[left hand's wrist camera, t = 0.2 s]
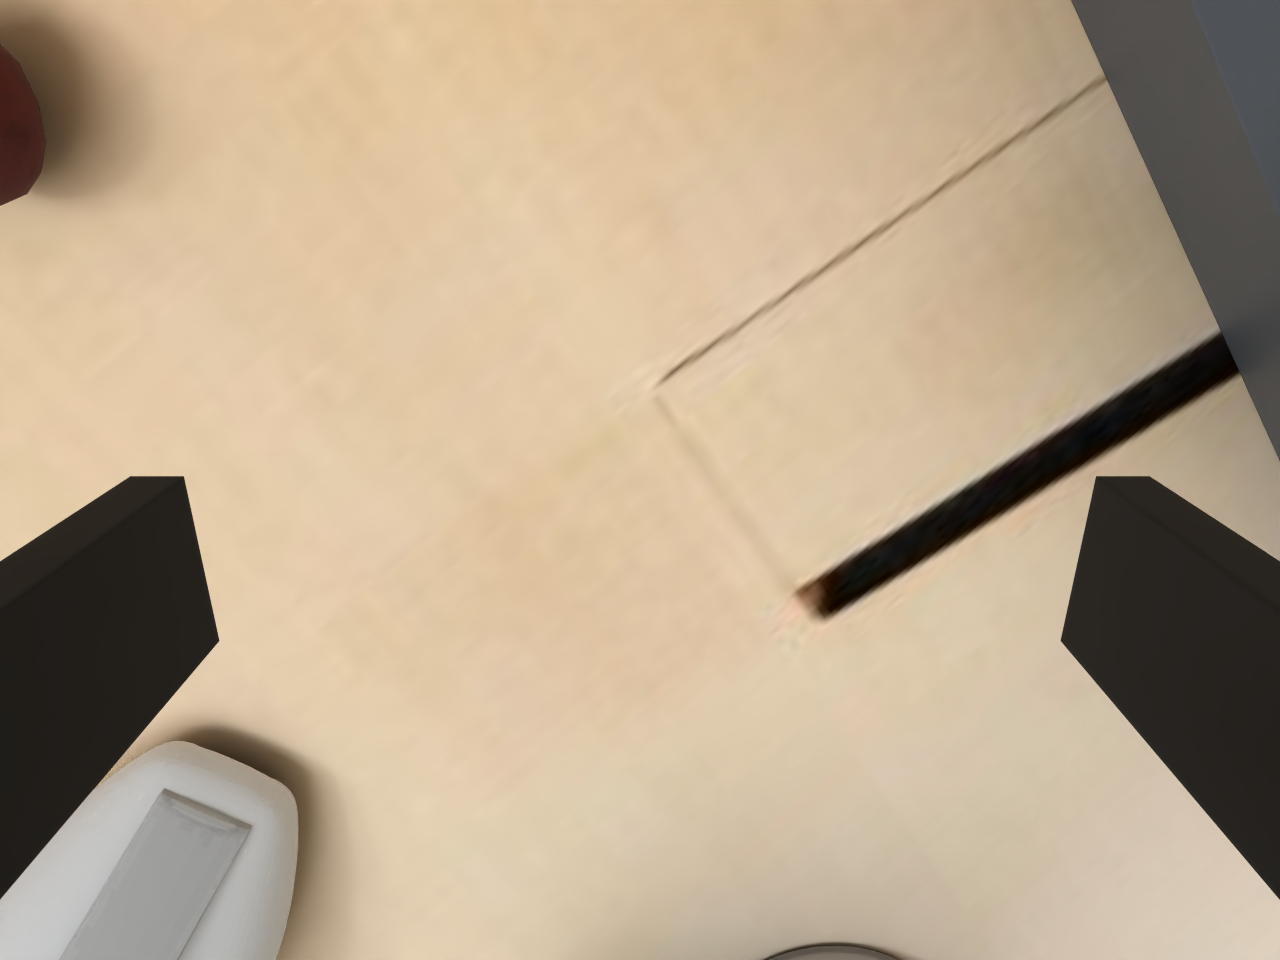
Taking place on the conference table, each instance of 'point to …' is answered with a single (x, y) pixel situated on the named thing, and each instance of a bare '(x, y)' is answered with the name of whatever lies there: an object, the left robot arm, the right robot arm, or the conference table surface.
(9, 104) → the dark brown ball
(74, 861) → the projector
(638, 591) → the conference table surface
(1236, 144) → the post
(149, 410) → the conference table surface
